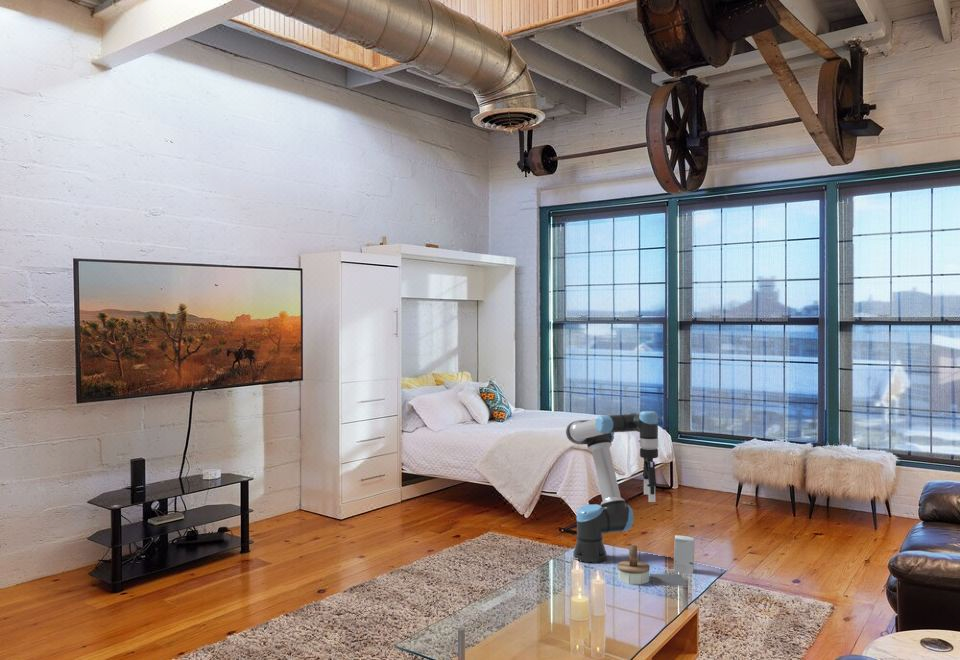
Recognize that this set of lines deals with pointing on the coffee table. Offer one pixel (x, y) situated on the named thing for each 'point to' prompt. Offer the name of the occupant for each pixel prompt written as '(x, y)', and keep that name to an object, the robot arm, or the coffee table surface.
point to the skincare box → (683, 554)
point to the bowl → (633, 577)
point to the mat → (668, 579)
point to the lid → (633, 563)
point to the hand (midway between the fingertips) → (649, 498)
